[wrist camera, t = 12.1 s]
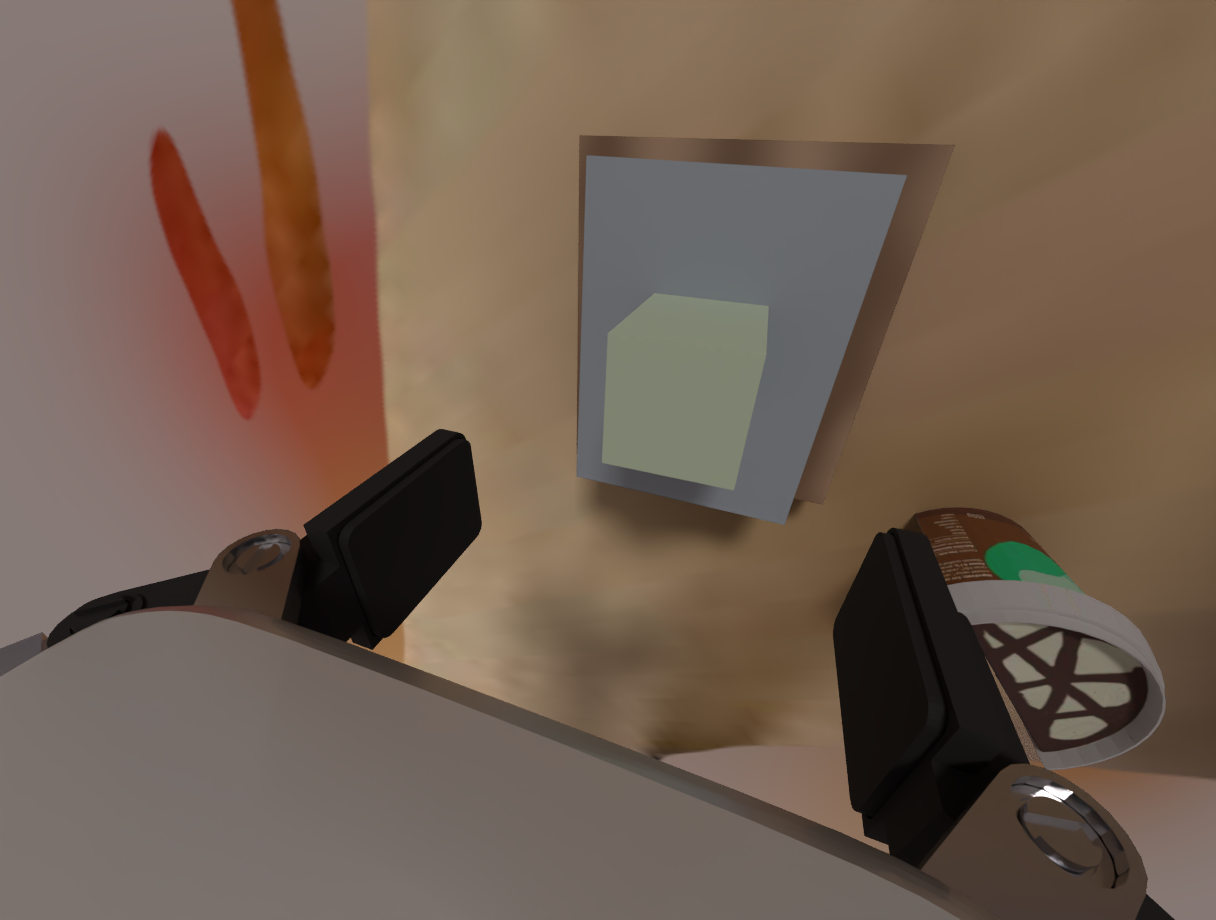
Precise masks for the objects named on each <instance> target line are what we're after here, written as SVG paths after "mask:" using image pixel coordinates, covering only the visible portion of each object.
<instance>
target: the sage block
mask: <svg viewBox="0 0 1216 920" xmlns="http://www.w3.org/2000/svg"><path fill="white" fill-rule="evenodd" d="M768 310H769V306H763V305H755V304H746V303H737V302H728V301H719V300H710V299H701V298H693V297H684V296H675V295H666V294H657V293H654V294H653V295H652V296H651V297H650V298H648V299H647V300H646V301H645V302H644V303H643V304H641V305H640V306H639V307H638V308H637V309H636V310H634V311H633V312H632V313H631V314H630V315H629V316H627V317H626V318H625V319H624V320H623V321H622V322H620V323H619V324H618V325H617V326H616V327H615V328H613V329H612V330H611V331H610V332H609V333H608V341H607V363H606V384H605V406H604V428H603V449H602V463H605V464H610V465H615V466H620V467H624V468H629V469H634V470H639V471H644V472H648V473H653V474H658V475H663V476H667V477H672V478H677V479H682V480H687V481H691V482H696V483H701V484H706V485H710V486H715V487H720V488H725V489H730V490H734V488H735V484H736V480H737V476H738V471H739V467H740V463H741V459H742V455H743V450H744V446H745V442H746V438H747V434H748V430H749V425H750V421H751V417H752V413H753V409H754V404H755V400H756V396H757V392H758V388H759V383H760V379H761V375H762V371H763V367H764V362H765V358H766V350H767V330H768Z"/></svg>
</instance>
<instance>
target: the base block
mask: <svg viewBox="0 0 1216 920" xmlns="http://www.w3.org/2000/svg"><path fill="white" fill-rule="evenodd" d="M954 147H955V145H933V144H894V143H855V142H816V141H777V140H738V139H699V138H660V137H621V136H582V135H580V144H579V264H578V383H577V449H578V416H579V384H580V351H581V319H582V286H583V254H584V221H585V189H586V156H587V155H590V156H606V157H623V158H639V159H655V160H671V161H687V162H703V163H719V164H735V165H751V166H767V167H783V168H799V169H816V170H832V171H848V172H864V173H880V174H896V175H907V177H906V180H905V183H904V186H903V189H902V191H901V194H900V197H899V200H898V203H897V206H896V208H895V211H894V214H893V217H892V220H891V223H890V226H889V228H888V231H887V234H886V237H885V240H884V243H883V245H882V248H881V251H880V254H879V257H878V260H877V263H876V265H875V268H874V271H873V274H872V277H871V280H870V283H869V285H868V288H867V291H866V294H865V297H864V300H863V302H862V305H861V308H860V311H859V314H858V317H857V320H856V322H855V325H854V328H853V331H852V334H851V337H850V339H849V342H848V345H847V348H846V351H845V354H844V357H843V359H842V362H841V365H840V368H839V371H838V374H837V376H836V379H835V382H834V385H833V388H832V391H831V394H830V396H829V399H828V402H827V405H826V408H825V411H824V413H823V416H822V419H821V422H820V425H819V428H818V431H817V433H816V436H815V439H814V442H813V445H812V448H811V451H810V453H809V456H808V459H807V462H806V465H805V468H804V470H803V473H802V476H801V479H800V482H799V485H798V488H797V490H796V493H795V496H794V499H798V500H803V501H807V502H812V503H817V504H822V505H823V502H824V500H825V497H826V494H827V491H828V489H829V486H830V483H831V481H832V478H833V475H834V472H835V470H836V467H837V464H838V462H839V459H840V456H841V453H842V451H843V448H844V445H845V443H846V440H847V437H848V434H849V432H850V429H851V426H852V424H853V421H854V418H855V415H856V413H857V410H858V407H859V405H860V402H861V399H862V396H863V394H864V391H865V388H866V386H867V383H868V380H869V377H870V375H871V372H872V369H873V366H874V364H875V361H876V358H877V356H878V353H879V350H880V347H881V345H882V342H883V339H884V337H885V334H886V331H887V328H888V326H889V323H890V320H891V318H892V315H893V312H894V309H895V307H896V304H897V301H898V299H899V296H900V293H901V290H902V288H903V285H904V282H905V280H906V277H907V274H908V271H909V269H910V266H911V263H912V261H913V258H914V255H915V252H916V250H917V247H918V244H919V242H920V239H921V236H922V233H923V231H924V228H925V225H926V223H927V220H928V217H929V214H930V212H931V209H932V206H933V204H934V201H935V198H936V195H937V193H938V190H939V187H940V185H941V182H942V179H943V176H944V174H945V171H946V168H947V166H948V163H949V160H950V157H951V155H952V152H953V149H954Z"/></svg>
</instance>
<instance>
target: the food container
mask: <svg viewBox="0 0 1216 920" xmlns="http://www.w3.org/2000/svg"><path fill="white" fill-rule="evenodd" d="M915 516H916V519H917V521H918V524H919V526H920V528H921V531H922V533H923V534H924V535H926V536H927V537H928V539H929V541H930V544H931V546H932V549H933V551H934V554H935V556H936V559H937V561H938V563H939V566H940V568H941V571H942V573H943V576H944V578H945V581H946V583H947V586H948V588H949V591H950V593H951V596H952V598H953V601H954V603H955V606H956V608H957V611H958V612H961V613H962V614H964V615H965V616H966V617H967V618H968V620H969V621H970V623H971V625H972V627H973V630H974V632H975V634H976V637H977V639H978V642H979V644H980V646H981V649H982V651H983V653H984V655H985V657H986V659H987V660H988V662H989V664H990V665H991V667H992V669H993V671H994V672H995V675H996V677H997V678H998V680H999V681H1000V683H1001V685H1002V687H1003V688H1004V690H1005V692H1006V694H1007V695H1008V697H1009V699H1010V700H1011V702H1012V704H1013V705H1014V707H1015V709H1016V711H1017V713H1018V714H1019V716H1020V718H1021V720H1022V721H1023V724H1024V726H1025V728H1026V730H1027V732H1028V734H1029V736H1030V738H1031V740H1032V742H1033V744H1034V747H1035V749H1036V751H1037V753H1038V755H1039V757H1040V759H1041V761H1042V763H1043V765H1044V767H1045V769H1047V770H1059V769H1069V768H1075V767H1081V766H1087V765H1091V764H1094V763H1098V762H1102V761H1106V760H1108V759H1111V758H1113V757H1116V756H1119V755H1121V754H1124V753H1125V752H1127V751H1129V750H1131V749H1133V748H1135V747H1136V746H1138V745H1139V744H1141V743H1142V742H1143V741H1144V740H1146V739H1147V738H1148V737H1150V736H1151V735H1152V733H1153V732H1154V731H1155V730H1156V728H1157V727H1158V726H1159V725H1160V723H1161V720H1162V718H1163V716H1164V713H1165V705H1166V698H1165V694H1164V689H1165V685H1164V681H1163V677H1162V673H1161V670H1160V668H1159V666H1158V664H1157V662H1156V659H1155V657H1154V655H1153V653H1152V650H1151V648H1150V646H1149V644H1148V642H1147V641H1146V639H1145V637H1144V636H1143V634H1142V633H1141V631H1140V630H1139V629H1138V628H1137V627H1136V626H1135V625H1134V624H1133V623H1132V622H1131V621H1130V620H1129V619H1128V618H1127V617H1126V616H1124V615H1123V614H1121V613H1120V612H1118V611H1117V610H1115V609H1114V608H1112V607H1111V606H1109V605H1107V604H1105V603H1103V602H1101V601H1098V600H1096V599H1094V598H1092V597H1090V596H1087V595H1085V594H1084V593H1083V592H1082V591H1081V589H1080V588H1079V587H1078V586H1077V585H1076V584H1075V583H1074V582H1073V581H1072V580H1071V579H1070V578H1069V577H1068V575H1067V574H1066V573H1065V572H1064V571H1063V570H1062V569H1061V568H1060V567H1059V566H1058V565H1057V564H1056V562H1055V561H1054V560H1053V559H1052V558H1051V557H1050V556H1049V555H1048V554H1047V553H1046V552H1045V551H1044V549H1043V548H1042V547H1041V546H1040V545H1039V544H1038V543H1037V542H1036V541H1035V540H1034V539H1033V538H1032V537H1031V535H1030V534H1029V533H1028V532H1027V531H1026V530H1025V529H1024V528H1022V527H1021V526H1020V525H1018V524H1017V523H1015V522H1014V521H1012V520H1011V519H1008V518H1006V517H1004V516H1002V515H999V514H996V513H993V512H989V511H985V510H979V509H974V508H941V509H935V510H929V511H925V512H921V513H917V514H915Z"/></svg>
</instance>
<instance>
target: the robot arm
mask: <svg viewBox="0 0 1216 920" xmlns="http://www.w3.org/2000/svg"><path fill="white" fill-rule="evenodd" d="M481 525H482V521H481V514H480V507H479V500H478V493H477V486H476V479H475V472H474V465H473V459H472V452H471V446H470V443H469V441H467V440H466V438H465V436H464V435H463V434H461V433H458V432H453V431H449V430H444V429H439V430H437V431H435V432H434V433H432V434H431V435H429V436H428V437H426V438H425V439H424V440H422V441H421V442H419V443H418V444H417V445H415V446H414V447H412V448H411V449H410V450H408V451H407V452H405V453H404V454H403V455H401V456H400V457H398V458H397V459H396V460H394V461H393V462H391V463H390V464H388V465H387V466H386V467H384V468H383V469H381V470H380V471H379V472H377V473H376V474H374V475H373V476H372V477H370V478H369V479H367V480H366V481H365V482H363V483H362V484H360V485H359V486H358V487H356V488H355V489H353V490H352V491H350V492H349V493H348V494H346V495H345V496H343V497H342V498H341V499H339V500H338V501H336V502H335V503H334V504H332V505H331V506H329V507H328V508H327V509H325V510H324V511H322V512H321V513H320V514H318V515H317V516H315V517H314V518H312V519H311V520H310V521H308V522H307V523H305V524H304V528H305V530H306V533H307V535H306V536H305V537H304V538H302V539H301V540H300V538H299V537H298V536H297V534H296V533H294V532H292V531H289V530H284V529H272V530H265V531H261V532H257V533H253V534H251V535H248V536H246V537H243V538H241V539H239V540H237V541H236V542H234V543H232V544H231V545H229V546H227V547H226V548H225V549H224V550H223V551H222V552H221V553H220V554H219V555H218V556H217V558H216V559H215V560H214V562H213V564H212V566H211V568H210V570H206V571H202V572H198V573H193V574H189V575H185V576H181V577H177V578H173V579H169V580H165V581H161V582H157V583H153V584H148V585H145V586H140V587H136V588H132V589H128V590H124V591H120V592H116V593H113V594H110V595H107V596H104V597H100V598H97V599H95V600H92V601H90V602H88V603H86V604H84V605H83V606H81V607H79V608H78V609H77V610H76V611H74V612H73V613H71V614H70V615H68V616H67V617H66V618H65V619H64V620H62V621H61V622H60V623H59V624H58V625H57V626H56V627H55V628H54V630H53V631H52V632H51V633H50V635H49V637H47V636H46V635H45V634H44V633H43V632H41V633H39V634H36V635H34V636H31V637H29V638H26V639H24V640H21V641H18V642H16V643H13V644H11V645H8V646H6V647H3V648H1V649H0V920H1174V919H1173V918H1172V917H1171V916H1170V915H1169V914H1168V913H1167V912H1166V911H1165V910H1163V909H1162V908H1161V907H1160V906H1159V905H1158V904H1157V903H1156V902H1155V901H1154V900H1153V899H1151V898H1150V897H1149V896H1148V895H1147V894H1146V889H1147V880H1148V878H1147V874H1146V871H1145V868H1144V865H1143V862H1142V858H1141V856H1140V854H1139V853H1138V851H1137V850H1136V848H1135V846H1134V844H1133V843H1132V841H1131V839H1130V838H1129V836H1128V834H1126V832H1125V831H1124V830H1123V828H1122V827H1121V826H1120V825H1119V824H1118V822H1117V821H1116V820H1115V819H1114V818H1113V817H1112V815H1111V814H1110V813H1109V812H1108V811H1107V810H1106V809H1104V807H1102V806H1101V805H1100V804H1099V803H1098V802H1097V801H1096V800H1095V799H1093V798H1092V797H1091V796H1090V795H1089V794H1088V793H1086V792H1085V791H1084V790H1082V789H1081V788H1079V787H1078V786H1076V785H1075V784H1073V783H1072V782H1071V781H1069V780H1068V779H1066V778H1064V777H1062V776H1060V775H1058V774H1056V773H1054V772H1052V771H1050V770H1047V769H1045V768H1042V767H1038V766H1034V765H1030V763H1029V761H1028V758H1027V756H1026V754H1025V751H1024V749H1023V746H1022V744H1021V742H1020V739H1019V737H1018V735H1017V732H1016V730H1015V727H1014V725H1013V723H1012V720H1011V718H1010V715H1009V713H1008V711H1007V708H1006V706H1005V704H1004V701H1003V699H1002V696H1001V694H1000V692H999V689H998V687H997V684H996V682H995V680H994V677H993V675H992V673H991V670H990V668H989V665H988V663H987V661H986V658H985V656H984V654H983V651H982V649H981V646H980V644H979V642H978V639H977V637H976V634H975V632H974V630H973V627H972V625H971V623H970V621H969V620H968V618H967V617H966V616H965V615H964V614H962V613H961V612H958V611H957V608H956V606H955V603H954V601H953V598H952V596H951V593H950V591H949V588H948V586H947V583H946V581H945V578H944V576H943V573H942V571H941V568H940V566H939V563H938V561H937V559H936V556H935V554H934V551H933V549H932V546H931V544H930V541H929V539H928V537H927V536H926V535H924V534H920V533H916V532H911V531H907V530H902V529H897V528H891V529H890V530H889V531H888V532H887V534H886V533H882V532H879V533H878V534H877V535H876V536H875V538H874V540H873V542H872V544H871V546H870V549H869V551H868V553H867V555H866V557H865V559H864V561H863V563H862V565H861V567H860V569H859V572H858V574H857V576H856V578H855V580H854V582H853V584H852V586H851V588H850V590H849V592H848V595H847V597H846V599H845V601H844V603H843V605H842V607H841V609H840V611H839V613H838V615H837V617H836V620H835V623H834V629H833V640H834V649H835V659H836V669H837V678H838V688H839V697H840V707H841V716H842V726H843V736H844V745H845V754H846V764H847V774H848V783H849V793H850V800H851V805H852V808H853V809H854V810H855V811H857V812H860V813H862V820H863V828H864V835H865V836H866V837H869V838H871V839H874V840H877V841H879V842H882V843H885V844H887V845H889V852H890V855H889V854H887V853H885V852H883V851H880V850H878V849H876V848H873V847H872V846H869V845H867V844H865V843H863V842H860V841H858V840H856V839H854V838H851V837H849V836H847V835H845V834H843V833H841V832H838V831H836V830H833V829H831V828H828V827H826V826H823V825H821V824H818V823H816V822H813V821H811V820H808V819H806V818H803V817H801V816H798V815H796V814H794V813H791V812H789V811H786V810H783V809H781V808H779V807H776V806H774V805H771V804H769V803H766V802H764V801H761V800H759V799H756V798H754V797H751V796H749V795H747V794H744V793H742V792H739V791H737V790H734V789H731V788H729V787H726V786H724V785H721V784H718V783H716V782H713V781H710V780H708V779H705V778H703V777H700V776H698V775H695V774H692V773H690V772H687V771H685V770H682V769H680V768H677V767H674V766H672V765H669V764H666V763H664V762H661V761H659V760H656V759H654V758H651V757H648V756H646V755H643V754H641V753H638V752H635V751H633V750H630V749H628V748H625V747H622V746H620V745H617V744H615V743H612V742H609V741H607V740H604V739H602V738H599V737H596V736H594V735H591V734H589V733H586V732H583V731H581V730H578V729H575V728H573V727H570V726H568V725H565V724H562V723H560V722H557V721H554V720H552V719H549V718H546V717H544V716H541V715H539V714H536V713H533V712H531V711H528V710H525V709H523V708H520V707H518V706H515V705H512V704H510V703H507V702H504V701H502V700H499V699H496V698H494V697H491V696H488V695H486V694H483V693H481V692H478V691H475V690H473V689H470V688H467V687H465V686H462V685H459V684H457V683H454V682H451V681H449V680H446V679H443V678H441V677H438V676H435V675H433V674H430V673H427V672H425V671H422V670H419V669H417V668H414V667H411V666H409V665H406V664H403V663H401V662H398V661H395V660H392V659H390V658H387V657H384V656H381V655H379V654H376V653H374V652H371V651H368V650H366V649H363V648H360V647H358V646H355V645H352V644H349V643H347V641H348V640H349V638H351V639H352V642H353V643H356V644H358V645H361V646H363V647H366V648H369V649H371V650H373V649H374V648H375V646H376V645H377V644H378V643H379V642H380V641H381V640H382V638H386V637H389V636H390V635H391V634H392V633H393V632H394V631H395V630H396V629H397V628H398V627H399V626H400V625H401V623H402V622H403V621H404V620H405V619H406V618H407V617H408V615H409V614H410V613H411V612H412V611H413V610H414V608H415V607H416V606H417V605H418V604H419V603H420V602H421V600H422V599H423V598H424V597H425V596H426V595H427V594H428V592H429V591H430V590H431V589H432V588H433V587H434V586H435V584H436V583H437V582H438V581H439V580H440V579H441V577H442V576H443V575H444V574H445V573H446V572H447V571H448V569H449V568H450V567H451V566H452V565H453V564H454V563H455V561H456V560H457V559H458V558H459V557H460V556H461V555H462V553H463V552H464V551H465V550H466V549H467V548H468V546H469V545H470V544H471V543H472V542H473V541H474V540H475V538H476V537H477V536H478V535H479V532H480V530H481Z"/></svg>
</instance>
